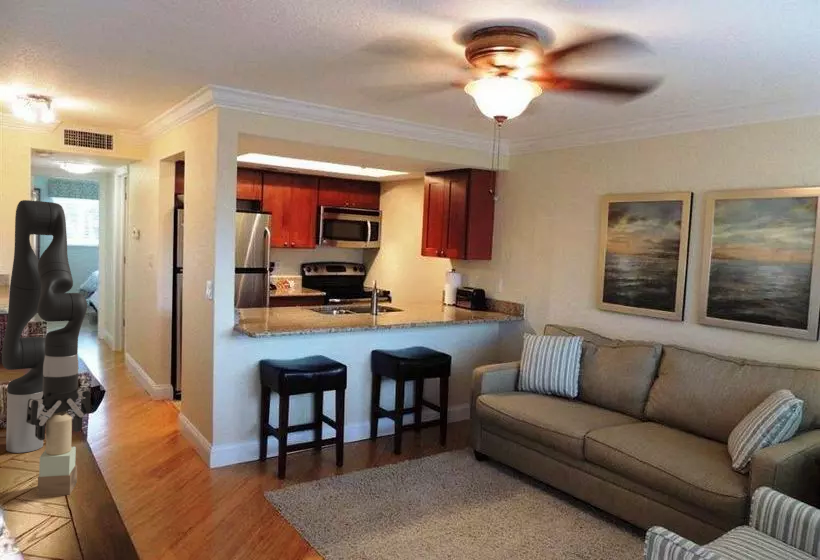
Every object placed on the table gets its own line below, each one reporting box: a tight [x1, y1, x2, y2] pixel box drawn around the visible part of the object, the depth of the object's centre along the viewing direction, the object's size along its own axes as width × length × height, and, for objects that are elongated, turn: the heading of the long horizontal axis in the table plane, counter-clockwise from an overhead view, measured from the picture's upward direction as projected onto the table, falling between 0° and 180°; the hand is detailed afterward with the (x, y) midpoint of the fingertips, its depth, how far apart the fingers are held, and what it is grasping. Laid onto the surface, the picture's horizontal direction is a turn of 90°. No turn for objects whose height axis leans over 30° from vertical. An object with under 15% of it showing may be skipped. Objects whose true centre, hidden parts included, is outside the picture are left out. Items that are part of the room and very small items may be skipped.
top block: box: [38, 446, 77, 477], centre depth 145 cm, size 6×6×5 cm
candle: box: [45, 411, 73, 455], centre depth 144 cm, size 6×6×10 cm
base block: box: [37, 464, 78, 498], centre depth 145 cm, size 7×7×5 cm
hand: (59, 435), depth 144 cm, fingers open, 8 cm apart
